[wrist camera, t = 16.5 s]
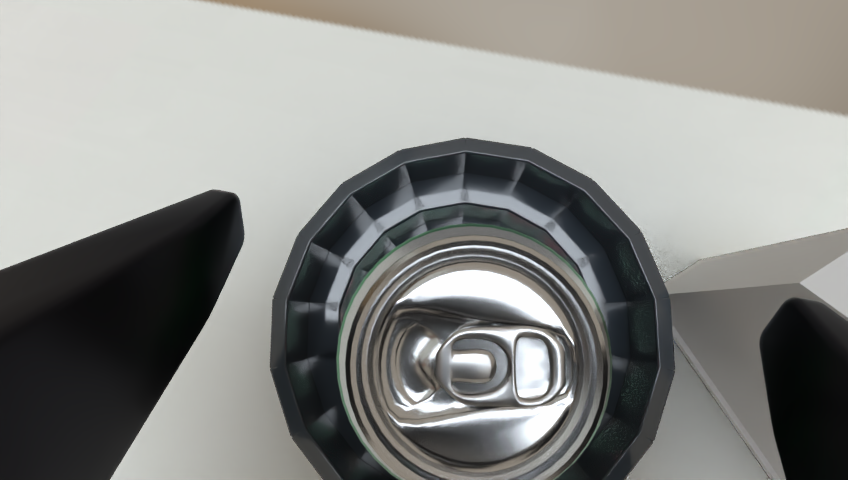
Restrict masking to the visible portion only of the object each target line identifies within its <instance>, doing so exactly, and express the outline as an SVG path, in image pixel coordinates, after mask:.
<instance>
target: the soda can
mask: <svg viewBox="0 0 848 480" xmlns="http://www.w3.org/2000/svg"><path fill="white" fill-rule="evenodd" d="M336 360H337V380H338V385H339V389H340V394H341V399H342V403H343V405H344V408H345V411H346V413H347V416H348V419H349V422H350V423H351V425H352V427H353V429H354V431H355V432H356V434H357V436H358V438H359V440H360V441H361V443H362V444H363V445H364V446H365V448H366V449H367V450H368V452H369V453H370V454H371V455H372V457H373V458H374V459H375V460H376V461H377V462H378V463H379V464H380V465H381V466H382V467H383V468H384V469H386V470H387V471H388V472H389V473H390V474H391V475H392V476H394V477H395V478H397V479H398V480H555V479H556V478H558V477H559V476H560V475H561V474H562V473H563V472H565V471H566V470H567V469H568V468H569V467H570V466H571V465H572V464H574V463H575V461H576V460H577V459H578V458H579V456H580V455H581V454H582V453H583V451H584V450H585V449H586V448H587V446H588V445H589V444H590V442H591V440H592V438H593V436H594V435H595V433H596V431H597V429H598V427H599V426H600V423H601V420H602V418H603V415H604V412H605V409H606V407H607V404H608V398H609V393H610V388H611V383H612V353H611V345H610V338H609V334H608V331H607V327H606V323H605V320H604V316H603V314H602V312H601V310H600V308H599V306H598V303H597V301H596V299H595V297H594V295H593V294H592V292H591V291H590V289H589V288H588V286H587V285H586V283H585V282H584V280H583V278H582V277H581V276H580V275H579V274H578V273H577V272H576V271H575V270H574V268H573V267H572V266H571V265H570V264H569V263H568V262H567V261H566V260H565V259H563V258H562V257H561V256H560V255H559V254H557V253H556V252H555V251H554V250H552V249H551V248H550V247H548V246H546V245H545V244H543V243H541V242H539V241H538V240H536V239H534V238H533V237H530V236H528V235H525V234H523V233H520V232H518V231H515V230H513V229H508V228H504V227H500V226H495V225H488V224H474V223H469V224H457V225H448V226H444V227H440V228H436V229H432V230H429V231H426V232H424V233H422V234H419V235H417V236H414V237H412V238H410V239H408V240H407V241H405V242H403V243H402V244H400V245H398V246H397V247H395V248H394V249H392V250H391V251H390V252H389V253H388V254H386V255H385V256H384V257H383V258H382V259H380V260H379V261H378V262H377V263H376V264H375V265H374V267H373V268H372V269H371V270H370V271H369V272H368V274H367V275H366V276H365V277H364V278H363V280H362V281H361V283H360V285H359V286H358V288H357V289H356V291H355V293H354V294H353V296H352V298H351V300H350V303H349V305H348V307H347V310H346V312H345V314H344V317H343V321H342V325H341V329H340V333H339V337H338V347H337V356H336Z"/></svg>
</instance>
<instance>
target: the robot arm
mask: <svg viewBox="0 0 848 480" xmlns="http://www.w3.org/2000/svg"><path fill="white" fill-rule="evenodd" d="M243 241H244V226H243V219H242V212H241V205H240V200H239V198H238V196H237V195H236V194H235V193H231V192H226V191H221V190H209V191H207V192H204V193H202V194H199V195H196V196H194V197H191V198H188V199H186V200H183V201H181V202H178V203H175V204H173V205H170V206H167V207H165V208H162V209H160V210H157V211H154V212H152V213H149V214H147V215H144V216H141V217H139V218H136V219H133V220H131V221H128V222H126V223H123V224H120V225H118V226H115V227H112V228H110V229H107V230H105V231H102V232H99V233H97V234H94V235H91V236H89V237H86V238H84V239H81V240H78V241H76V242H73V243H71V244H68V245H65V246H63V247H60V248H57V249H55V250H52V251H50V252H47V253H44V254H42V255H39V256H36V257H34V258H31V259H29V260H26V261H23V262H21V263H18V264H15V265H13V266H10V267H8V268H5V269H2V270H0V480H110V479H111V477H112V475H113V474H114V472H115V470H116V469H117V467H118V466H119V464H120V462H121V461H122V459H123V457H124V456H125V454H126V452H127V451H128V449H129V448H130V446H131V444H132V443H133V441H134V439H135V438H136V436H137V434H138V433H139V431H140V430H141V428H142V426H143V425H144V423H145V421H146V420H147V418H148V417H149V415H150V413H151V412H152V410H153V408H154V407H155V405H156V403H157V402H158V400H159V399H160V397H161V395H162V394H163V392H164V390H165V389H166V387H167V385H168V384H169V382H170V381H171V379H172V377H173V376H174V374H175V372H176V371H177V369H178V368H179V366H180V364H181V363H182V361H183V359H184V358H185V356H186V354H187V353H188V351H189V350H190V348H191V346H192V345H193V343H194V341H195V340H196V338H197V336H198V335H199V333H200V332H201V330H202V328H203V327H204V325H205V323H206V321H207V320H208V318H209V316H210V314H211V312H212V310H213V308H214V306H215V304H216V302H217V299H218V297H219V295H220V293H221V291H222V289H223V286H224V284H225V282H226V280H227V278H228V276H229V273H230V271H231V269H232V267H233V265H234V262H235V260H236V258H237V256H238V254H239V252H240V249H241V247H242V245H243ZM759 348H760V355H761V361H762V367H763V374H764V380H765V386H766V393H767V399H768V405H769V411H770V418H771V423H772V428H773V433H774V437H775V441H776V445H777V449H778V453H779V456H780V460H781V463H782V467H783V471H784V474H785V478H786V480H848V321H847V320H845V319H844V318H843V317H841V316H840V315H839V314H837V313H836V312H834V311H833V310H832V309H830V308H829V307H828V306H826V305H825V304H823V303H821V302H819V301H815V300H810V299H804V298H799V297H791V298H788V299H787V300H785V301H784V302H783V304H782V305H781V306H780V308H779V309H778V310H777V312H776V313H775V314H774V316H773V317H772V319H771V320H770V321H769V323H768V324H767V325H766V327H765V328H764V329H763V331H762V333H761V336H760V340H759Z"/></svg>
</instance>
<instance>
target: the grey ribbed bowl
mask: <svg viewBox="0 0 848 480" xmlns="http://www.w3.org/2000/svg"><path fill="white" fill-rule="evenodd" d="M469 223H474V224H488V225H495V226H500V227H504V228H508V229H513V230H515V231H518V232H520V233H523V234H525V235H528V236H530V237H533V238H534V239H536V240H538V241H539V242H541V243H543V244H545V245H546V246H548V247H550V248H551V249H552V250H554V251H555V252H556V253H557V254H559V255H560V256H561V257H562V258H563V259H565V260H566V261H567V262H568V263H569V264H570V265H571V266H572V267H573V268H574V270H575V271H576V272H577V273H578V274H579V275H580V276H581V277H582V278H583V280H584V282H585V283H586V285H587V286H588V288H589V289H590V291H591V292H592V294H593V295H594V297H595V299H596V301H597V303H598V306H599V308H600V310H601V312H602V314H603V316H604V320H605V323H606V327H607V331H608V334H609V338H610V345H611V353H612V383H611V388H610V393H609V398H608V404H607V407H606V409H605V412H604V415H603V418H602V420H601V423H600V426H599V427H598V429H597V431H596V433H595V435H594V436H593V438H592V440H591V442H590V444H589V445H588V446H587V448H586V449H585V450H584V451H583V453H582V454H581V455H580V456H579V458H578V459H577V460H576V461H575V463H574V464H572V465H571V466H570V467H569V468H568V469H567V470H566V471H565V472H563V473H562V474H561V475H560V476H559V477H558V478H556V479H555V480H625V479H626V477H627V476H628V475H629V473H630V472H631V471H632V469H633V468H634V467H635V466H636V464H637V463H638V462H639V460H640V459H641V458H642V456H643V455H644V454H645V453H646V451H647V450H648V449H649V447H650V446H651V445H652V443H653V441H654V440H655V437H656V433H657V430H658V426H659V423H660V420H661V416H662V413H663V410H664V406H665V403H666V400H667V396H668V393H669V390H670V386H671V383H672V380H673V376H674V373H675V371H674V370H675V361H674V345H673V330H672V315H671V300H670V298H669V297H670V295H669V293H668V291H667V289H666V286H665V284H664V282H663V279H662V277H661V275H660V273H659V270H658V268H657V266H656V263H655V261H654V259H653V256H652V254H651V252H650V250H649V247H648V245H647V243H646V240H645V238H644V236H643V234H642V232H641V231H640V229H639V228H638V227H637V226H636V225H635V224H634V223H633V222H632V221H631V220H630V218H629V217H628V216H627V215H626V214H625V213H624V212H623V211H622V210H621V209H620V208H619V207H618V206H617V205H616V203H615V202H614V201H613V200H612V199H611V198H610V197H609V196H608V195H607V194H606V193H605V192H604V191H603V190H602V188H601V187H600V186H599V185H598V184H597V183H596V182H595V181H593V180H592V179H591V178H589V177H587V176H585V175H583V174H581V173H580V172H578V171H576V170H574V169H572V168H570V167H568V166H566V165H564V164H562V163H561V162H559V161H557V160H555V159H553V158H551V157H549V156H547V155H545V154H543V153H542V152H540V151H538V150H536V149H534V148H533V149H532V148H531V147H525V146H518V145H512V144H505V143H498V142H492V141H485V140H478V139H472V138H466V139H465V138H460V139H455V140H450V141H444V142H439V143H434V144H429V145H423V146H418V147H413V148H407V149H402V150H400V151H397V152H395V153H393V154H392V155H390V156H388V157H386V158H385V159H383V160H381V161H380V162H378V163H376V164H374V165H373V166H371V167H369V168H367V169H366V170H364V171H362V172H360V173H359V174H357V175H355V176H353V177H352V178H350V179H348V180H347V181H345V182H343V183H342V184H341V185H340V186H339V187H338V188H337V189H336V191H335V192H334V193H333V194H332V195H331V196H330V198H329V199H328V200H327V201H326V202H325V203H324V205H323V206H322V207H321V208H320V209H319V210H318V211H317V213H316V214H315V215H314V216H313V217H312V218H311V220H310V221H309V222H308V223H307V224H306V225H305V227H304V228H303V229H302V230H301V231H300V232H299V235H298V236H297V238H296V240H295V243H294V245H293V248H292V250H291V253H290V255H289V258H288V260H287V263H286V265H285V268H284V270H283V273H282V276H281V278H280V281H279V283H278V286H277V288H276V291H275V293H274V296H273V298H274V299H273V300H272V325H271V351H270V368H271V369H270V371H271V374H272V377H273V381H274V384H275V387H276V390H277V394H278V397H279V400H280V403H281V406H282V410H283V413H284V416H285V419H286V423H287V426H288V429H289V432H290V435H291V437H292V439H293V440H294V442H295V443H296V444H297V446H298V447H299V448H300V450H301V451H302V452H303V454H304V455H305V456H306V458H307V459H308V460H309V462H310V463H311V464H312V466H313V467H314V468H315V470H316V471H317V472H318V474H319V475H320V476H321V478H322V479H323V480H398V479H397V478H395V477H394V476H392V475H391V474H390V473H389V472H388V471H387V470H386V469H384V468H383V467H382V466H381V465H380V464H379V463H378V462H377V461H376V460H375V459H374V458H373V457H372V455H371V454H370V453H369V452H368V450H367V449H366V448H365V446H364V445H363V444H362V443H361V441H360V440H359V438H358V436H357V434H356V432H355V431H354V429H353V427H352V425H351V423H350V422H349V419H348V416H347V413H346V411H345V408H344V405H343V403H342V399H341V394H340V389H339V385H338V380H337V360H336V356H337V347H338V337H339V333H340V329H341V325H342V321H343V317H344V314H345V312H346V310H347V307H348V305H349V303H350V300H351V298H352V296H353V294H354V293H355V291H356V289H357V288H358V286H359V285H360V283H361V281H362V280H363V278H364V277H365V276H366V275H367V274H368V272H369V271H370V270H371V269H372V268H373V267H374V265H375V264H376V263H377V262H378V261H379V260H380V259H382V258H383V257H384V256H385V255H386V254H388V253H389V252H390V251H391V250H392V249H394V248H395V247H397V246H398V245H400V244H402V243H403V242H405V241H407V240H408V239H410V238H412V237H414V236H417V235H419V234H422V233H424V232H426V231H429V230H432V229H436V228H440V227H444V226H448V225H457V224H469Z"/></svg>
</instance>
